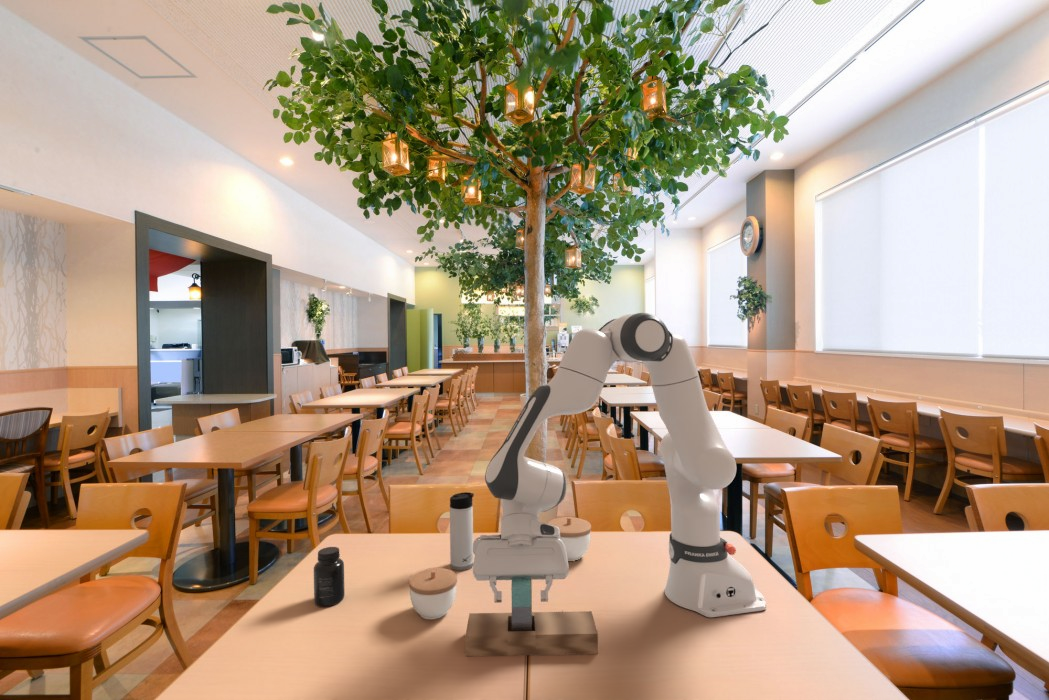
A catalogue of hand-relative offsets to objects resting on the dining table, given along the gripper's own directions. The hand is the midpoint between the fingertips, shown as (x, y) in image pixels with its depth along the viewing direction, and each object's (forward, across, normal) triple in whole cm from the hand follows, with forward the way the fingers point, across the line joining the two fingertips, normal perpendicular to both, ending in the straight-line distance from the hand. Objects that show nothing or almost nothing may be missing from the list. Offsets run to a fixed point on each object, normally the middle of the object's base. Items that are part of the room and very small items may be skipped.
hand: (521, 601), depth 99 cm
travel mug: (-19, -16, +32) cm, 40 cm away
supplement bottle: (-7, -46, +20) cm, 50 cm away
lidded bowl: (-22, +14, +35) cm, 44 cm away
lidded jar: (-2, -20, +15) cm, 25 cm away
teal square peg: (+5, 0, +6) cm, 8 cm away
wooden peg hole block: (+6, +2, +7) cm, 9 cm away
